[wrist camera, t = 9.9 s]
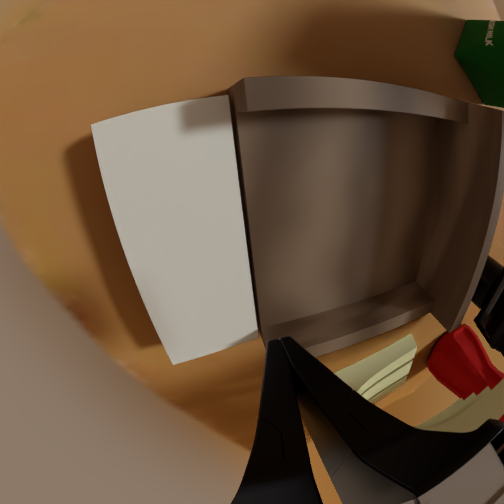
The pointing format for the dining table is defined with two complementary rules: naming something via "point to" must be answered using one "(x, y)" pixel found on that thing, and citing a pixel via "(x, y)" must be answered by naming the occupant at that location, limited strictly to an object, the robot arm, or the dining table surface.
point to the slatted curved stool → (395, 374)
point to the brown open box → (362, 204)
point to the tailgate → (181, 221)
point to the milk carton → (484, 58)
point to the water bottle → (463, 363)
